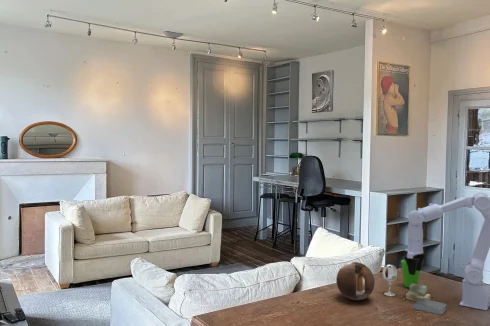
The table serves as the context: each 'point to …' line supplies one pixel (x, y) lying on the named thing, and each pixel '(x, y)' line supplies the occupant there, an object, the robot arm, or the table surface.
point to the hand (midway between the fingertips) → (414, 272)
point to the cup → (409, 275)
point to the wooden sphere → (355, 281)
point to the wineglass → (389, 276)
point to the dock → (430, 306)
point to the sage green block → (417, 292)
